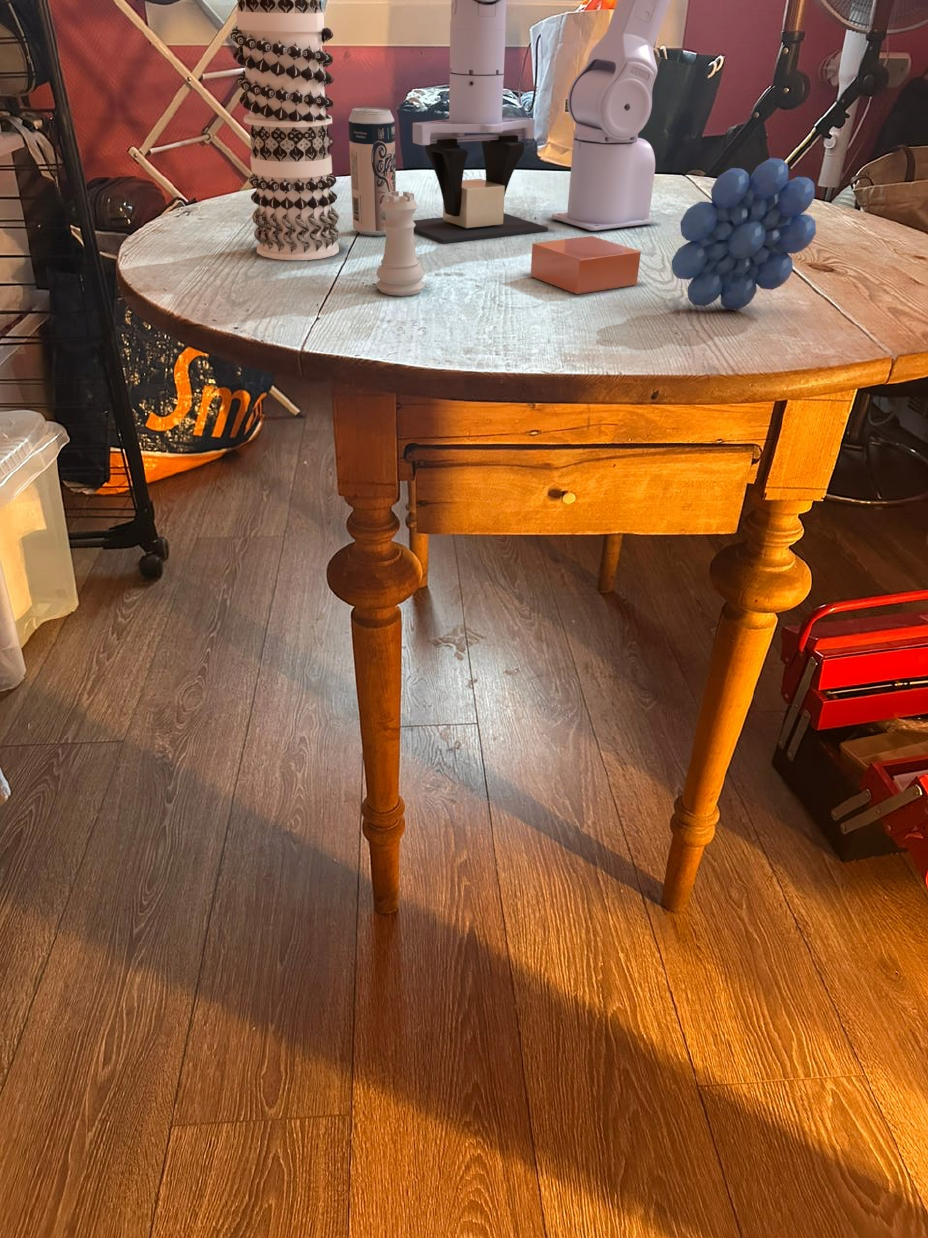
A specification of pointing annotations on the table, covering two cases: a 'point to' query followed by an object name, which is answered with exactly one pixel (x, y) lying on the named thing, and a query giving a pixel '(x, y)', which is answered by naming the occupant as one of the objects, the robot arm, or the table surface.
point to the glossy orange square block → (585, 264)
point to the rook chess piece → (399, 248)
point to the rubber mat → (474, 229)
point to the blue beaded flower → (745, 234)
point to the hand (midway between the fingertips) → (472, 212)
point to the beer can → (371, 167)
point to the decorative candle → (288, 126)
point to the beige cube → (479, 204)
